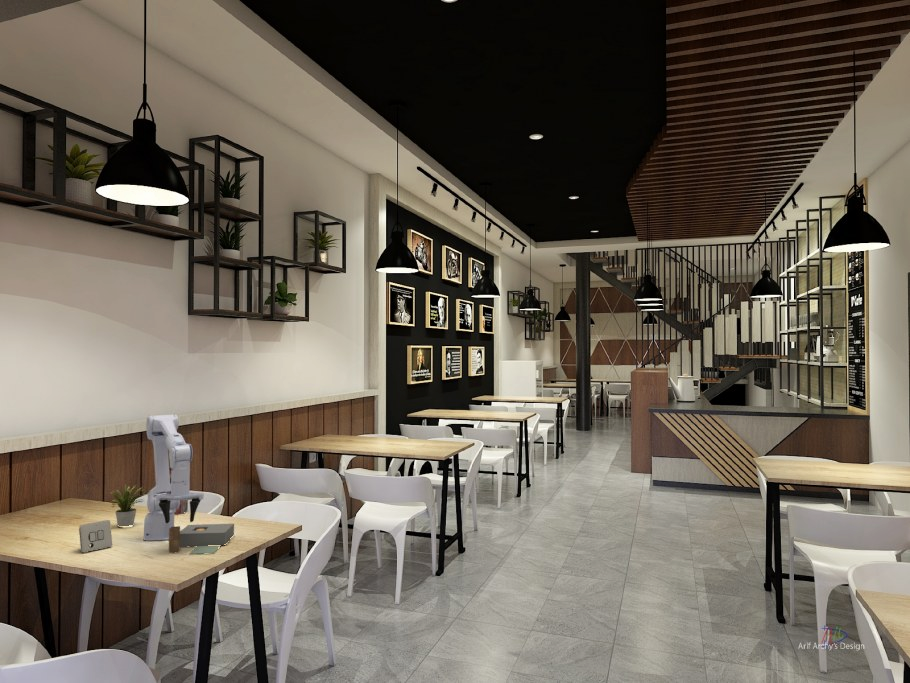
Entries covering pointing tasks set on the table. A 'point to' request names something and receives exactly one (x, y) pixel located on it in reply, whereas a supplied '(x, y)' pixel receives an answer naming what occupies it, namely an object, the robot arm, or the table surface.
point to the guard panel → (206, 534)
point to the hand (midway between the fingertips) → (179, 521)
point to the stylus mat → (204, 549)
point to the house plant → (126, 506)
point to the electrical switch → (95, 535)
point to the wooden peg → (174, 539)
